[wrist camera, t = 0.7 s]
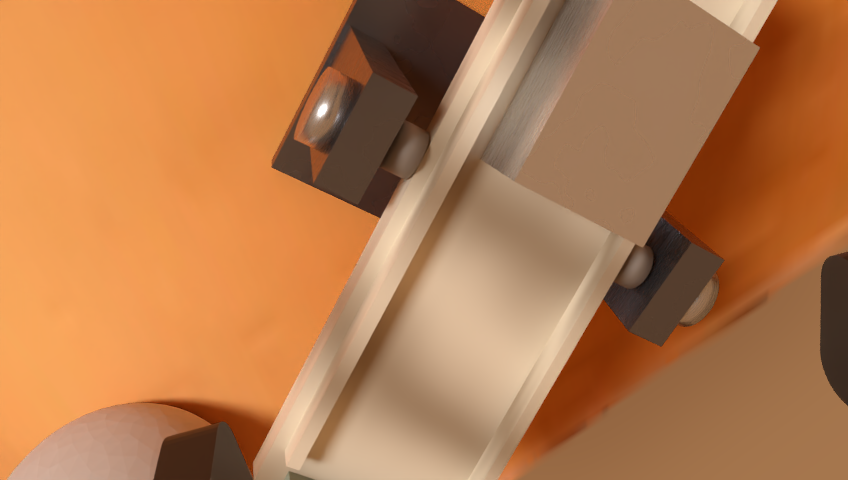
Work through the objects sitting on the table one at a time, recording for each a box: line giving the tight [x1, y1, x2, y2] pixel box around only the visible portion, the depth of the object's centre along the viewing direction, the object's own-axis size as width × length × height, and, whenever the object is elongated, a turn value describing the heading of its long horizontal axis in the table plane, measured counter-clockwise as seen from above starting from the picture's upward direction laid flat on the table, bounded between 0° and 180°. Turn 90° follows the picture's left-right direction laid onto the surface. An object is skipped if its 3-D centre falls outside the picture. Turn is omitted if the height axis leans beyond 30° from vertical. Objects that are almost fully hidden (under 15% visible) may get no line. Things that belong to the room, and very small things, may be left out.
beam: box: [253, 0, 778, 480], centre depth 27 cm, size 26×11×3 cm, turn 151°
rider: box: [480, 0, 760, 248], centre depth 25 cm, size 7×5×4 cm
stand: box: [272, 0, 724, 346], centre depth 31 cm, size 10×17×10 cm, turn 60°
